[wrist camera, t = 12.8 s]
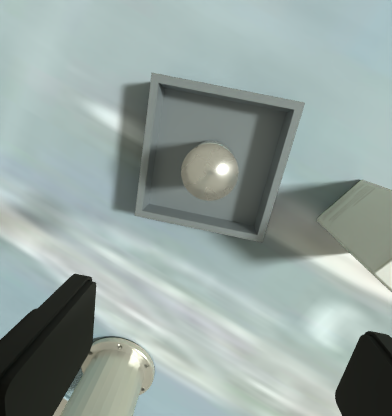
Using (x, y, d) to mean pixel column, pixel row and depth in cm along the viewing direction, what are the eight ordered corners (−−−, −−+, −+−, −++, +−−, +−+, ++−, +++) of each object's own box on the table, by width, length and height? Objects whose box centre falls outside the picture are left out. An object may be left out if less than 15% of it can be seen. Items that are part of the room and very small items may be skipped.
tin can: (227, 187, 31) (231, 205, 23) (187, 178, 31) (176, 194, 23) (237, 144, 29) (244, 149, 21) (194, 136, 29) (186, 138, 21)
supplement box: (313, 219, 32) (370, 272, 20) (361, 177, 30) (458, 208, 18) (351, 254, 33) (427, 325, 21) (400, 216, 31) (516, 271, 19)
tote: (257, 229, 33) (262, 242, 29) (144, 205, 33) (134, 215, 30) (293, 106, 28) (304, 102, 24) (160, 80, 29) (151, 72, 25)
